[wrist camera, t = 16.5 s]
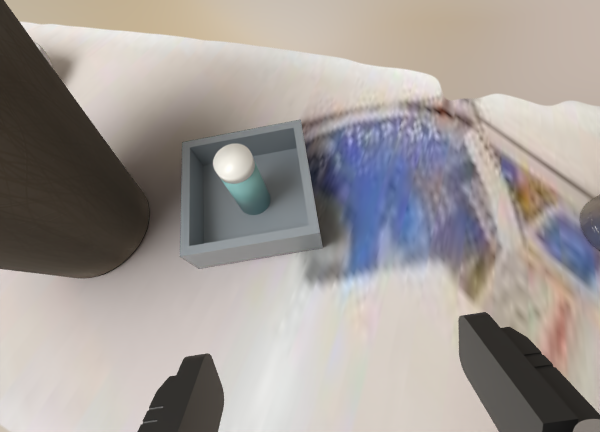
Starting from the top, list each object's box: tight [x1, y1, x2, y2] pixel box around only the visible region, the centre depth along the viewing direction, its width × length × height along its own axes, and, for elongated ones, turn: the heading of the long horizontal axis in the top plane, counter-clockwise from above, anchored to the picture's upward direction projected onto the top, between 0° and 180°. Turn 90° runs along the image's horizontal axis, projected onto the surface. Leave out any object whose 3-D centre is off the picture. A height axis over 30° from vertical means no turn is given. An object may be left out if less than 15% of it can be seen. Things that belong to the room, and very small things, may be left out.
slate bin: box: [180, 120, 323, 269], centre depth 48 cm, size 18×18×6 cm
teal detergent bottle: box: [213, 144, 271, 215], centre depth 45 cm, size 5×5×11 cm
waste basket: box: [0, 0, 149, 278], centre depth 39 cm, size 27×20×30 cm
